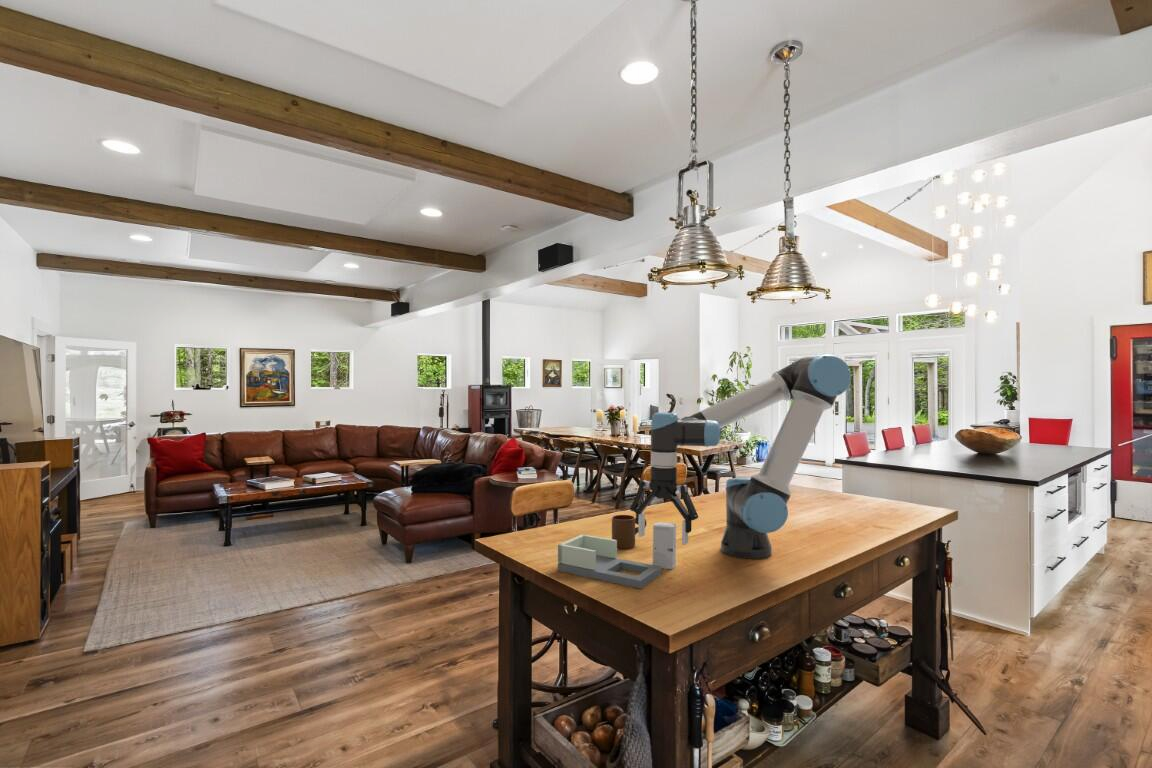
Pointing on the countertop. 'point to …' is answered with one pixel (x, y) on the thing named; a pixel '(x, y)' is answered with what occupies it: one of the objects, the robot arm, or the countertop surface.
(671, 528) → the skincare box
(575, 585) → the countertop surface
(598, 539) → the housing
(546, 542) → the countertop surface
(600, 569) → the board
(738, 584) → the countertop surface
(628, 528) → the mug
